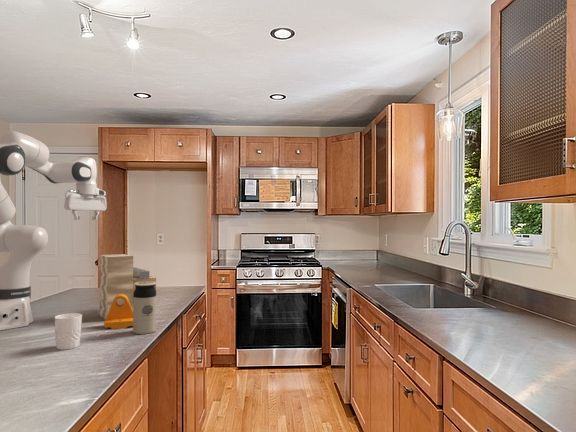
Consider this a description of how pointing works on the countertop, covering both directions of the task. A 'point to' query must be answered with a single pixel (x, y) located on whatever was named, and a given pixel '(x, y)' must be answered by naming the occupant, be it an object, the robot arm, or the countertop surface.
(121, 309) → the bracket
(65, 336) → the white cup
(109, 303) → the step stand
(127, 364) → the countertop surface
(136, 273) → the block
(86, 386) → the countertop surface
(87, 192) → the robot arm
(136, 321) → the travel mug
